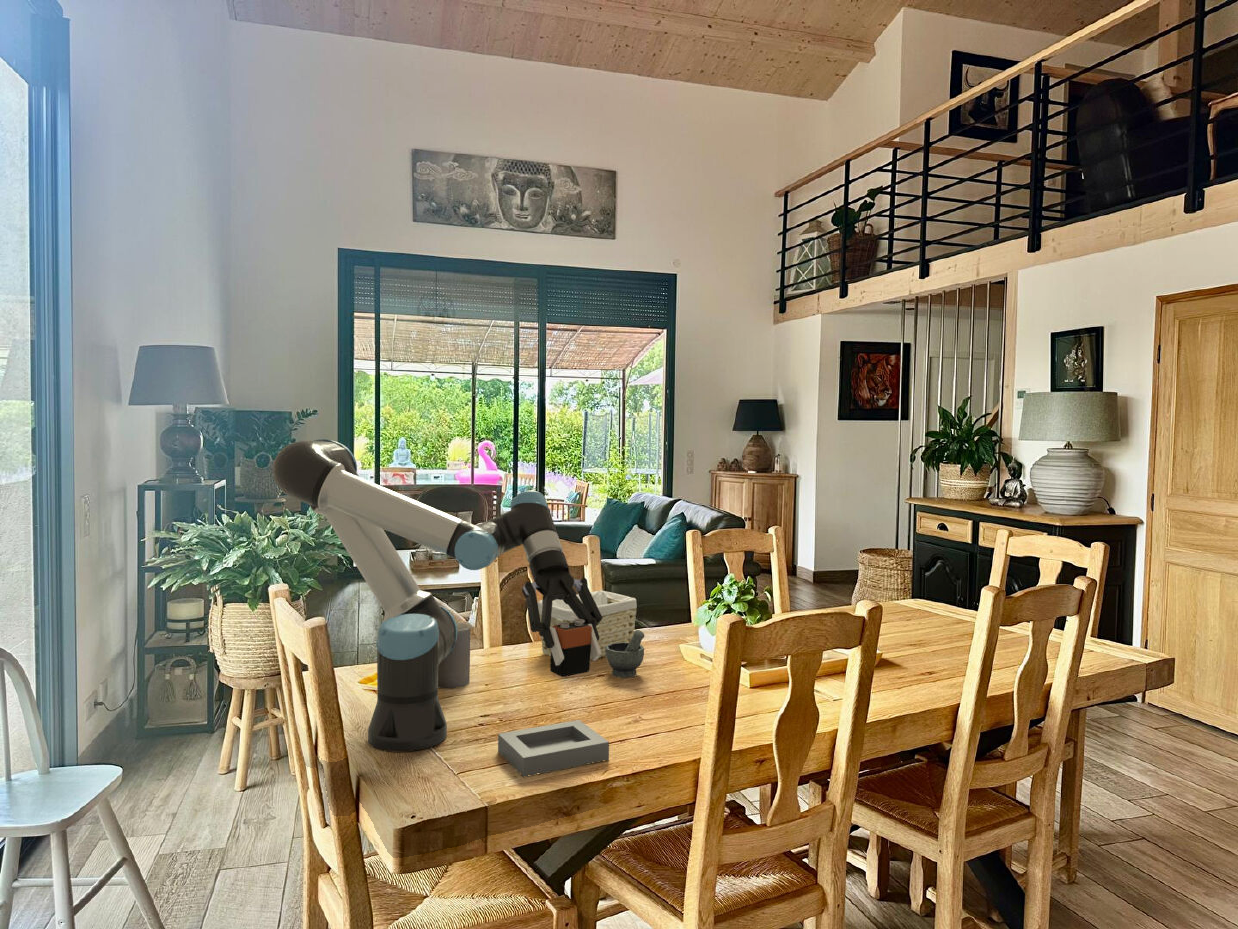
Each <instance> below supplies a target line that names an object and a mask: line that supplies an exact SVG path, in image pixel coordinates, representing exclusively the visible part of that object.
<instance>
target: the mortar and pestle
mask: <svg viewBox="0 0 1238 929" xmlns="http://www.w3.org/2000/svg"><path fill="white" fill-rule="evenodd" d="M633 634H634V635H633V637H632V639H631V641H630V642H629V643H628V642H619V643H611V644H609V645H606V646H605V653H606V656H605V658H606V661H607V663H608V665H609V666H610V668H612V669H611V675H612V677H615V676H616V677H615V678H618V677H620V678H619V679H629V678H628V677H631V678H635V677H636V676H638V674H637V668H639V667H640V666H641V664H642V663H643V661H644V655H645V648H644V647H645V646H644V645H642V644H641V643H642V640H643V639H644V638H645V633H644V632H643V631H642V630H639V629H636V630H634V633H633ZM635 675H636V676H635Z"/></svg>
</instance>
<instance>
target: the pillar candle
mask: <svg viewBox="0 0 1238 929" xmlns="http://www.w3.org/2000/svg"><path fill="white" fill-rule="evenodd" d="M456 624H457V631H458V633H457V639H456V642H455V645H454V647H453V649H452V651H451V653H450V654H449V655H448V656H447V657H446V658H445V659H444V660H443V661H442V662H441V663H440V664H439V665H438V689H444V688H445V689H446V688H447V690H448V689H457V688H456V687H458V688H462V687H465V686H466V685H469V684H470V681H471V679H470V677H471V676H470V674H471V673H470V672H471V669H470V668H471V628H472V627H471V625H470V624H468V623H466V622H462V621H456Z"/></svg>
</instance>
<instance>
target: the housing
mask: <svg viewBox="0 0 1238 929" xmlns="http://www.w3.org/2000/svg"><path fill="white" fill-rule="evenodd" d="M497 738H498V739H497V752H498V753H499V754H500V755H501V756H502V758H504V759H505V760H506V761H507V762H508V764H509V765H511V767H513V768H514V769H515V770H516V771H517V772H518V773H519V774H520V773H521V774H522V775H523V776H527V777H529V776H528V775H532V776H535V775H534V774H537V773H543V774H547V773H551V772H552V771H553V772H556V770H558V771H560V769H563V770H566V769H565V768H568V769H570V768H569V767H573V768H577V766H578V767H581V766H580V765H583V766H585V765H584V764H588V763H592V762H598V761H603V760H608V761H610V740H609V741H608V740H607V739H606V738H605V737H603V736H602V735H601V734H599V733H598V732H596V731H595V730H593V729H592V728H591V727H590V726H588V725H587V724H585V723H584V722H583V721H582V720H580V719H576V720H570V721H565V722H558V723H554V724H553V723H552V724H548V725H541V726H536V727H528V728H522V729H517V730H511V731H506V732H500V733H497ZM603 762H604V761H603ZM598 763H599V762H598ZM588 765H589V764H588ZM521 774H520V775H521ZM522 775H521V776H522ZM523 776H522V777H523Z"/></svg>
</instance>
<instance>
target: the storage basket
mask: <svg viewBox="0 0 1238 929" xmlns="http://www.w3.org/2000/svg"><path fill="white" fill-rule="evenodd" d="M590 593H591V595H592V597H593V599H594V601H595V603H596V605H597V607H598V609H599V611H600V613H601V615H602V620H601V621H600V622H599V624H598V625H597V626H596V628H597V631H598V634H599V640H598V644H599V647H600V650H601V653H602V654H601V655H600V656H599V658H598V659H600V658H603V657H606V653H605V646H606V645H609V644H611V643H619V642H628V643H629V642H630V641H631V639H632V637H633V635H634V634H633V633H634V631H635V626H636V625H635V623H636V615H637V608H638V607H637V604H638V603H637V599H636V598H635V597H630V596H628V595H623V594H619V593H615V592H610V591H605V590H597V591H590ZM576 596H577V597H578V598H579V600H580V601H581V599H580V597H579V594H578V593H577V594H576ZM542 600H543V599H541V600H539V601H538V600H537V603H538V609H539V615H540V621H541V617H542V607H543V604H542ZM581 602H582V601H581ZM582 604H583V603H582ZM575 619H579V618H578V617H577V616H576V614H575V613H574V612H573V611H572V609H571V608H570V607H569V605H568V604H565V602H564V601H563V600H558V599H556V600H554V601H552V613H551V624H550V629H551V628H552V627H553V626H555V625H561V623H562V622H567V623H573V622H574V620H575ZM540 637H541V638H540V639H541V647H542V648H541V650H542V653H543V654H544V655H546V656H550V657H551V648H547V647H546V645H545V641H544V638H543V636H540ZM591 660H592V657H591V654H590V661H591ZM592 661H593V660H592Z"/></svg>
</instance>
